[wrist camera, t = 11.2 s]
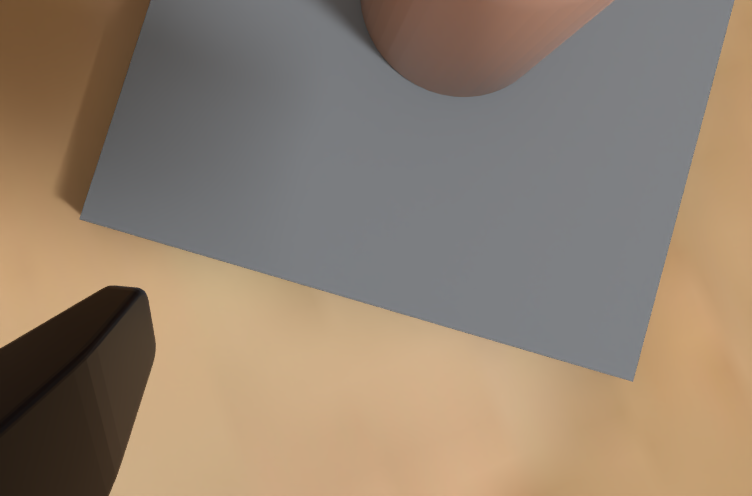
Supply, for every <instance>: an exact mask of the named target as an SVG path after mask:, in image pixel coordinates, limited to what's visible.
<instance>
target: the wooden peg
mask: <svg viewBox="0 0 752 496" xmlns="http://www.w3.org/2000/svg"><path fill="white" fill-rule="evenodd" d="M614 1H615V0H360V2H361V10H362V14H363V18H364V22H365V25H366V28H367V30H368V33H369V35H370V37H371V39H372V41H373V43H374V44H375V46H376V48H377V49H378V51H379V52H380V54H381V55H382V56H383V58H384V59H385V60H386V61H387V62H388V63H389V64H390V65H391V66H392V67H393V68H394V69H395V70H396V71H397V72H398V73H399V74H401V75H402V76H403V77H404V78H406V79H407V80H409V81H411V82H412V83H414V84H415V85H417V86H420V87H422V88H424V89H426V90H428V91H432V92H435V93H438V94H441V95H447V96H453V97H473V96H481V95H485V94H490V93H493V92H496V91H498V90H501V89H503V88H505V87H507V86H509V85H511V84H512V83H514V82H516V81H517V80H518V79H520V78H521V77H522V76H524V75H525V74H526V73H527V72H529V71H530V70H531V69H532V68H533V67H535V66H536V65H537V64H538V63H539V62H541V61H542V60H543V59H544V58H546V57H547V56H548V55H549V54H550V53H552V52H553V51H554V50H555V49H556V48H558V47H559V46H560V45H561V44H563V43H564V42H565V41H566V40H567V39H569V38H570V37H571V36H572V35H573V34H575V33H576V32H577V31H578V30H580V29H581V28H582V27H583V26H584V25H586V24H587V23H588V22H589V21H591V20H592V19H593V18H594V17H595V16H597V15H598V14H599V13H600V12H601V11H603V10H604V9H605V8H606V7H608V6H609V5H610V4H611V3H612V2H614Z"/></svg>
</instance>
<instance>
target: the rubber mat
mask: <svg viewBox="0 0 752 496" xmlns="http://www.w3.org/2000/svg"><path fill="white" fill-rule="evenodd" d="M733 4H734V0H615V1H614V2H612V3H611V4H610V5H609V6H608V7H606V8H605V9H604V10H603V11H601V12H600V13H599V14H598V15H597V16H595V17H594V18H593V19H592V20H591V21H589V22H588V23H587V24H586V25H584V26H583V27H582V28H581V29H580V30H578V31H577V32H576V33H575V34H573V35H572V36H571V37H570V38H569V39H567V40H566V41H565V42H564V43H563V44H561V45H560V46H559V47H558V48H556V49H555V50H554V51H553V52H552V53H550V54H549V55H548V56H547V57H546V58H544V59H543V60H542V61H541V62H539V63H538V64H537V65H536V66H535V67H533V68H532V69H531V70H530V71H529V72H527V73H526V74H525V75H524V76H522V77H521V78H520V79H518V80H517V81H516V82H514V83H512V84H511V85H509V86H507V87H505V88H503V89H501V90H498V91H496V92H493V93H490V94H485V95H481V96H473V97H453V96H447V95H441V94H438V93H435V92H432V91H428V90H426V89H424V88H422V87H420V86H417V85H415V84H414V83H412V82H411V81H409V80H407V79H406V78H404V77H403V76H402V75H401V74H399V73H398V72H397V71H396V70H395V69H394V68H393V67H392V66H391V65H390V64H389V63H388V62H387V61H386V60H385V59H384V58H383V56H382V55H381V54H380V52H379V51H378V49H377V48H376V46H375V44H374V43H373V41H372V39H371V37H370V35H369V33H368V30H367V28H366V25H365V22H364V18H363V14H362V10H361V2H360V0H151V1H150V4H149V7H148V10H147V13H146V17H145V20H144V23H143V26H142V29H141V32H140V35H139V38H138V41H137V44H136V47H135V50H134V53H133V56H132V59H131V63H130V66H129V69H128V72H127V75H126V78H125V81H124V84H123V87H122V90H121V93H120V96H119V99H118V102H117V105H116V109H115V112H114V115H113V118H112V121H111V124H110V127H109V130H108V133H107V136H106V139H105V142H104V145H103V148H102V151H101V154H100V158H99V161H98V164H97V167H96V170H95V173H94V176H93V179H92V182H91V185H90V188H89V191H88V194H87V197H86V200H85V204H84V207H83V210H82V213H81V216H80V220H84V221H87V222H91V223H94V224H97V225H101V226H104V227H108V228H111V229H114V230H118V231H121V232H125V233H128V234H131V235H135V236H138V237H142V238H145V239H149V240H152V241H155V242H159V243H162V244H166V245H169V246H172V247H176V248H179V249H183V250H186V251H189V252H193V253H196V254H200V255H203V256H206V257H210V258H213V259H217V260H220V261H223V262H227V263H230V264H234V265H237V266H241V267H244V268H247V269H251V270H254V271H258V272H261V273H264V274H268V275H271V276H275V277H278V278H281V279H285V280H288V281H292V282H295V283H298V284H302V285H305V286H309V287H312V288H315V289H319V290H322V291H326V292H329V293H333V294H336V295H339V296H343V297H346V298H350V299H353V300H356V301H360V302H363V303H367V304H370V305H373V306H377V307H380V308H384V309H387V310H390V311H394V312H397V313H401V314H404V315H408V316H411V317H414V318H418V319H421V320H425V321H428V322H431V323H435V324H438V325H442V326H445V327H448V328H452V329H455V330H459V331H462V332H465V333H469V334H472V335H476V336H479V337H482V338H486V339H489V340H493V341H496V342H500V343H503V344H506V345H510V346H513V347H517V348H520V349H523V350H527V351H530V352H534V353H537V354H540V355H544V356H547V357H551V358H554V359H557V360H561V361H564V362H568V363H571V364H574V365H578V366H581V367H585V368H588V369H592V370H595V371H598V372H602V373H605V374H609V375H612V376H615V377H619V378H622V379H626V380H629V381H632V382H633V379H634V376H635V372H636V368H637V364H638V361H639V357H640V353H641V349H642V346H643V342H644V338H645V334H646V331H647V327H648V323H649V319H650V316H651V312H652V308H653V304H654V301H655V297H656V293H657V289H658V285H659V282H660V278H661V274H662V270H663V267H664V263H665V259H666V255H667V252H668V248H669V244H670V240H671V237H672V233H673V229H674V225H675V222H676V218H677V214H678V210H679V207H680V203H681V199H682V195H683V192H684V188H685V184H686V180H687V177H688V173H689V169H690V165H691V162H692V158H693V154H694V150H695V146H696V143H697V139H698V135H699V131H700V128H701V124H702V120H703V116H704V113H705V109H706V105H707V101H708V98H709V94H710V90H711V86H712V83H713V79H714V75H715V71H716V68H717V64H718V60H719V56H720V53H721V49H722V45H723V41H724V38H725V34H726V30H727V26H728V23H729V19H730V15H731V11H732V7H733Z"/></svg>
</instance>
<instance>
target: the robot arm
mask: <svg viewBox="0 0 752 496" xmlns="http://www.w3.org/2000/svg"><path fill="white" fill-rule="evenodd" d="M155 350H156V342H155V336H154V330H153V324H152V318H151V312H150V307H149V301H148V297H147V295H146V293H145V291H143V290H142V289H140V288H135V287H125V286H107V287H105V288H103V289H101V290H99V291H97V292H96V293H94V294H92V295H91V296H89V297H87V298H85V299H84V300H82V301H80V302H79V303H77V304H75V305H74V306H72V307H70V308H68V309H67V310H65V311H63V312H62V313H60V314H58V315H57V316H55V317H53V318H51V319H50V320H48V321H46V322H45V323H43V324H41V325H39V326H38V327H36V328H34V329H33V330H31V331H29V332H28V333H26V334H24V335H22V336H21V337H19V338H17V339H16V340H14V341H12V342H11V343H9V344H7V345H5V346H4V347H2V348H0V496H109V494H110V491H111V489H112V487H113V484H114V482H115V479H116V477H117V474H118V471H119V468H120V465H121V463H122V460H123V457H124V453H125V450H126V447H127V444H128V441H129V438H130V435H131V431H132V428H133V425H134V422H135V419H136V416H137V412H138V409H139V406H140V403H141V400H142V397H143V394H144V390H145V387H146V384H147V381H148V378H149V375H150V371H151V368H152V365H153V362H154V357H155Z"/></svg>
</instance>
